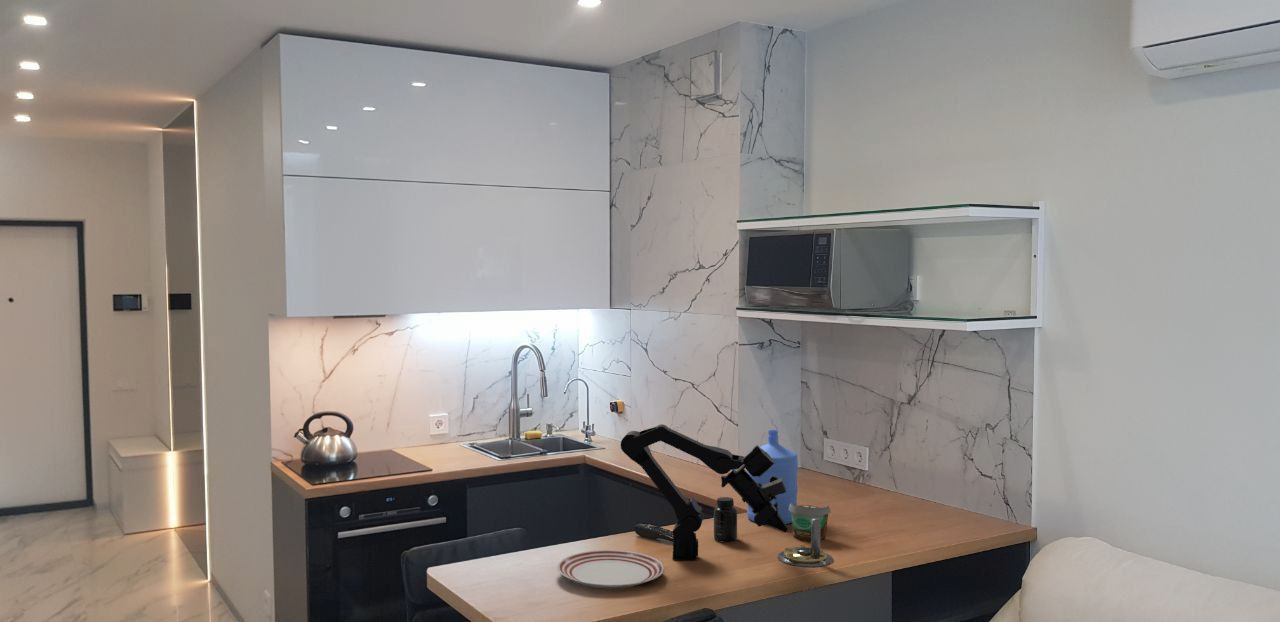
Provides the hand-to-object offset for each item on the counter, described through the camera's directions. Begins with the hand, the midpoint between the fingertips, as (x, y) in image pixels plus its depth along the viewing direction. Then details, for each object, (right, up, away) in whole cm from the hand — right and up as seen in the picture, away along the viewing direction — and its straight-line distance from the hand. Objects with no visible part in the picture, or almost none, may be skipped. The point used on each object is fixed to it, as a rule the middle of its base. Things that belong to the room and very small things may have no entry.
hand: (786, 531), depth 265 cm
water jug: (+2, -6, +45) cm, 45 cm away
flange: (+6, -8, +4) cm, 11 cm away
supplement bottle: (-15, -8, +22) cm, 27 cm away
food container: (+9, -8, +22) cm, 25 cm away
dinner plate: (-47, -9, -13) cm, 50 cm away
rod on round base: (+6, -8, +4) cm, 11 cm away
